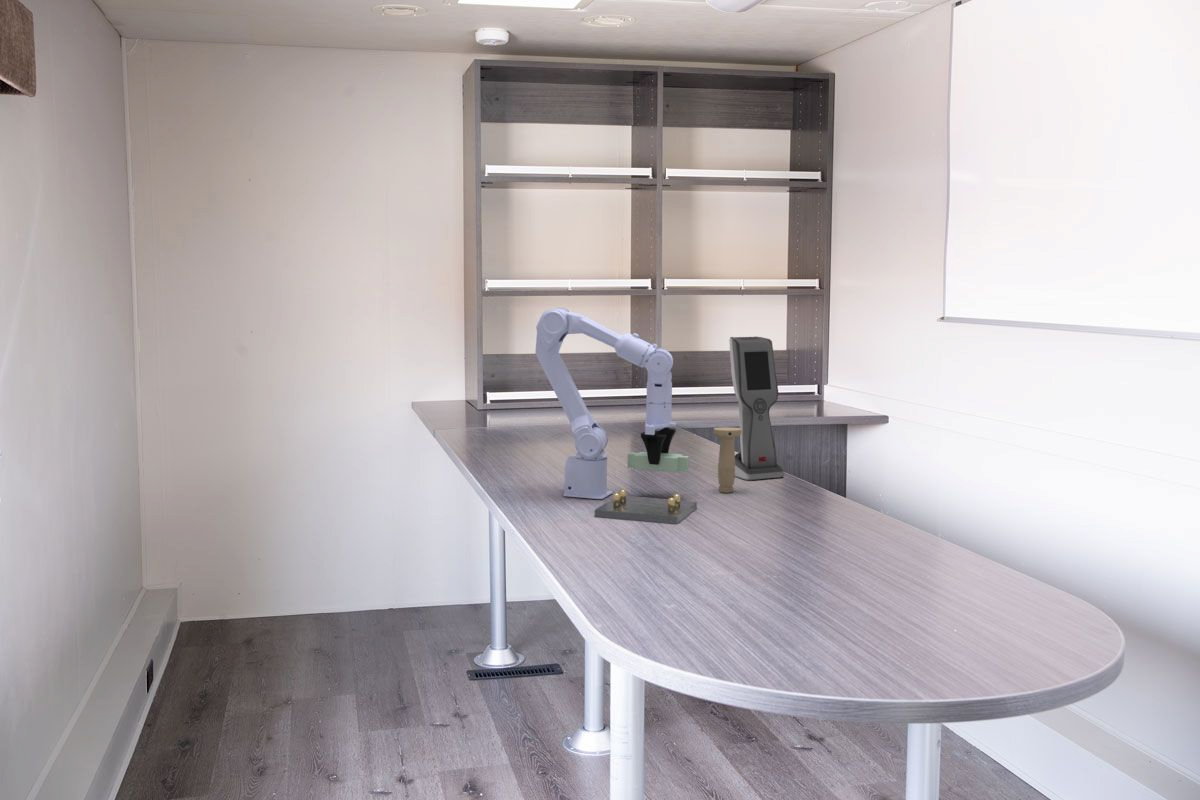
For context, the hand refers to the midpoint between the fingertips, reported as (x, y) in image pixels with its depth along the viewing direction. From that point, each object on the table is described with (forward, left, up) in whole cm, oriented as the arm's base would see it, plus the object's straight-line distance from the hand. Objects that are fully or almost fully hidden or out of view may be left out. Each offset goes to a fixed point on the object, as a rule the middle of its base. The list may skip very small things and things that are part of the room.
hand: (657, 462), depth 249 cm
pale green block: (0, 0, -2) cm, 2 cm away
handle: (+13, +13, -9) cm, 20 cm away
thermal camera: (+15, +36, -9) cm, 40 cm away
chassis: (+2, -15, -8) cm, 17 cm away
